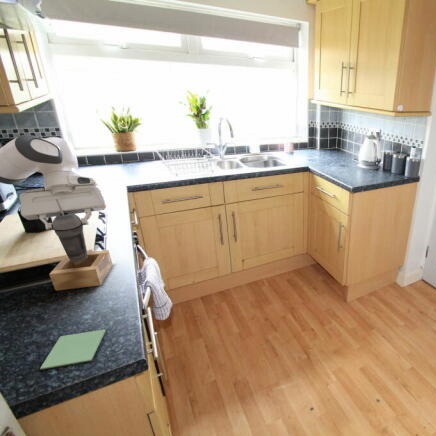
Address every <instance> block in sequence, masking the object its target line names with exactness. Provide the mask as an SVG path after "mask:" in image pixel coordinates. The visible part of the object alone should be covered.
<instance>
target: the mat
mask: <svg viewBox="0 0 436 436" xmlns="http://www.w3.org/2000/svg"><path fill="white" fill-rule="evenodd" d="M106 332H107V329H104V328H103V329H99V330H92V331H86V332H79V333H73V334H66V335H61V336H59V338H58V340H57V341H56V342H55V344H54V346H53V347H52V348H51V350H50V352H49V354H48V355H47V357H46V358H45V360H43V361H44V362H43V363H42V365H41V366H40V368H39V370H40V371H42V370H46V369H47V370H48V369H52V368H59V367H64V366H70V365H76V364H80V363H82V364H83V363H87V362H92V361H93V359H94V358H95V355H96V353H97V351H98V349H99V346H100V345H101V342H102V341H103V338H104V336H105V334H106Z"/></svg>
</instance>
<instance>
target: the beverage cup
mask: <svg viewBox="0 0 436 436" xmlns="http://www.w3.org/2000/svg"><path fill="white" fill-rule="evenodd" d="M56 201H57V204H58V206H59V209H60V211H61V214H59V215H58V216H55V217H54V219H53V221H52V224H53V230H52V231H54V233H55V235H56V236H57V238H58V239H59V242H60V244H61V245H62V248H63V250H64V252H65V254H66V255H67V256H68V258H69V260H70V262H80V261H83V260H85V259H87V257H88V256H87V252H88V250H87V245H86V239H85V234H84V225H82V221H81V218H80V217H79V215H77V214H73V213H63V210H62V208H61V206H60V203H59V201H58V199H56Z"/></svg>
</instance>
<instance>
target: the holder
mask: <svg viewBox="0 0 436 436" xmlns="http://www.w3.org/2000/svg"><path fill="white" fill-rule="evenodd" d="M90 252H91V253H88V254H87V256H88V257H87V259H85V260H83V261H80V262H70V260H69V258H64V257H63V258H64V259H63V258H62V259H61V260H60V262H58V264H57V265H56V266H55V267H54V268H53V270H51V271H50V273H49V274H48V275H49V277H50V281H51V282H52V285H53V288H54V290H55V292H56V291H64V290H73V289H80V288H88V287H97V286H101V285H102V284H103V282H104V281H105V279H106V278H107V275H108V274H109V273H110V271H111V269H112V267H113V266H114V265H113V261H112V257H111V254H110V251H109V249H106V250H95V251H90Z"/></svg>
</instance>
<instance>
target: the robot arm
mask: <svg viewBox="0 0 436 436" xmlns="http://www.w3.org/2000/svg"><path fill="white" fill-rule="evenodd" d="M78 170H79V162H78V156H77V153H76V150H75V148H74V145H72V143H71V142H70V141H68V140H67V139H65V138H61V137H57V136H50V137H45V138H43V137H42V138H41V137H38V136H36V135H33V134H32V135H31V134H21V135H18V136H17V137H15V138H13V139H12V140H10V141H9V142H7V143H5V145H3V146H1V147H0V184H5V185H10V186H11V185H13V186H14V185H19V184H22V183H23V182H24V181H26V180H27V179H29V177H30V176H32V175H33V174H35V173H41V174H42V178H43V187H41V188H34V189H26V190H25V191H22V192H21V193H20V194H19V202H20V215H21V216H22V218H24V219H26V220H28V221H33V220H40V221H41V222H42V223H43V225H44V226H45V227H44V228H45V230H46V231H47V232H49V231H54V230H53V222H48V221H49V218H55V217H56V216H58V215H59V214H61V211H60V209H59V206H58V204H57V201H56V199H58V201H59V203H60V206H61V208H62V210H63V213H73V214H75V215H77V214H85V216H84V217H82V218H80V219H81V221H82V225H83V226H88V225H90V223H89V220H90V218H91V217H92V216H93V214H92V212H99V211H105V209H106V208H107V203H106V200H105V197H104V195H103V192H102V191H101V189H100V187H99V185H98V182H97V181H96V180H95V178H94V177H89V176H80V174H79V172H78Z"/></svg>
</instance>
